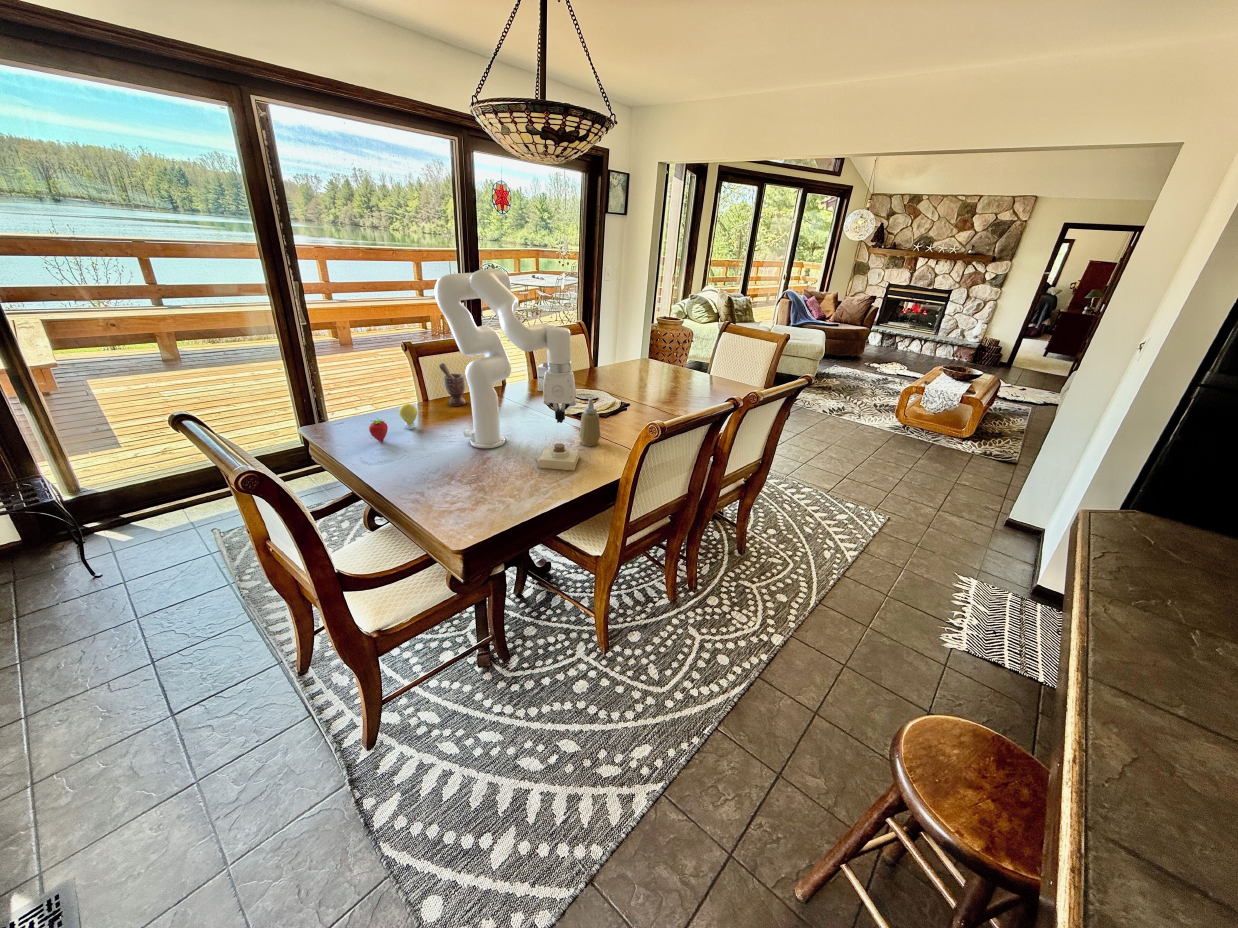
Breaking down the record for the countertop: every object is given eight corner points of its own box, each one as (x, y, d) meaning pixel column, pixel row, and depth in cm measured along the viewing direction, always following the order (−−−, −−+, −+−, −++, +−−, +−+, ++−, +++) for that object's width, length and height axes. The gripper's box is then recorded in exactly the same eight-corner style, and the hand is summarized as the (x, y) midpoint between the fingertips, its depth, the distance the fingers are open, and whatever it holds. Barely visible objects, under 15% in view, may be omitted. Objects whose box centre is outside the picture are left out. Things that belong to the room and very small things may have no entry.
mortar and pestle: (460, 409, 213) (456, 365, 204) (441, 408, 213) (436, 363, 204) (469, 401, 223) (465, 358, 215) (450, 400, 223) (446, 357, 215)
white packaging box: (537, 391, 242) (537, 366, 237) (542, 387, 249) (541, 363, 243) (551, 392, 241) (551, 368, 236) (556, 388, 248) (555, 364, 242)
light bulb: (397, 429, 189) (393, 405, 184) (410, 424, 194) (406, 400, 190) (411, 432, 186) (407, 408, 182) (423, 427, 192) (420, 403, 188)
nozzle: (553, 452, 164) (553, 447, 164) (555, 448, 168) (555, 443, 167) (563, 453, 164) (563, 448, 163) (565, 449, 167) (565, 443, 167)
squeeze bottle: (597, 449, 180) (598, 403, 173) (576, 446, 182) (577, 400, 174) (602, 441, 188) (603, 396, 180) (582, 438, 189) (583, 394, 181)
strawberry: (368, 445, 174) (363, 419, 169) (377, 437, 180) (372, 412, 176) (384, 446, 174) (380, 420, 169) (393, 438, 181) (388, 413, 176)
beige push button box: (539, 467, 164) (539, 454, 162) (545, 455, 173) (545, 443, 171) (574, 470, 163) (574, 457, 161) (578, 458, 172) (578, 445, 170)
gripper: (533, 369, 150) (535, 424, 158) (580, 371, 150) (580, 426, 157) (538, 363, 157) (540, 416, 165) (584, 366, 156) (583, 419, 164)
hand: (560, 421), depth 161 cm, fingers closed
